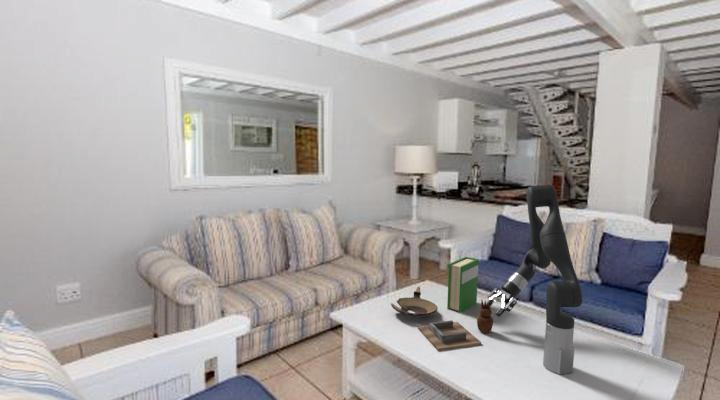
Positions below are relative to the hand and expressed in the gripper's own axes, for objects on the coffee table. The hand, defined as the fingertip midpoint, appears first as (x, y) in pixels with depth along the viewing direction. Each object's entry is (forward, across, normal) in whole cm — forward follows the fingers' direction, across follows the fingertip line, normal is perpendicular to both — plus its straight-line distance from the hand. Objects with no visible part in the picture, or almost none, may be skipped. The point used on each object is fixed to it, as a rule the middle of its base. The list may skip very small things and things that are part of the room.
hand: (491, 311), depth 173 cm
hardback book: (+5, -28, +8) cm, 29 cm away
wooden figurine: (+9, 0, +4) cm, 10 cm away
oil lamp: (+24, -27, -10) cm, 37 cm away
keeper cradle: (+21, 0, -8) cm, 23 cm away
